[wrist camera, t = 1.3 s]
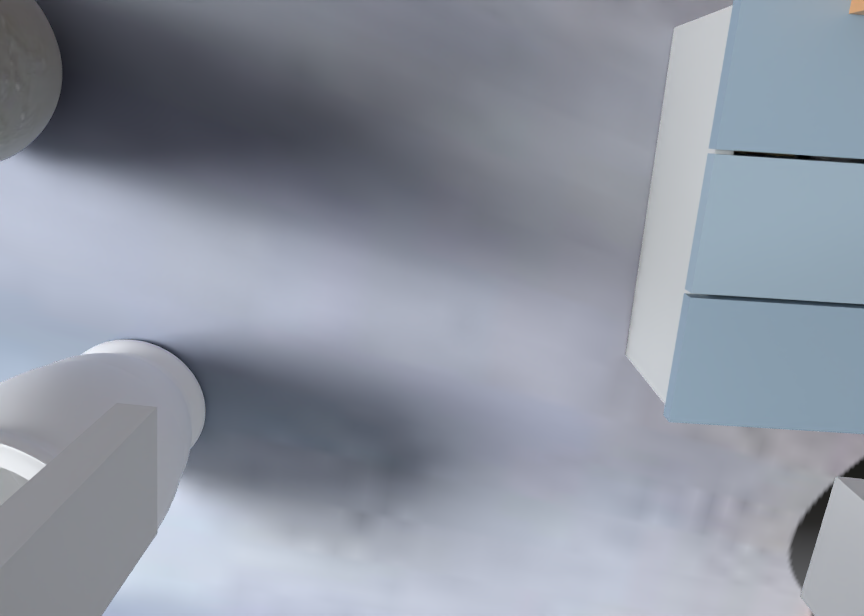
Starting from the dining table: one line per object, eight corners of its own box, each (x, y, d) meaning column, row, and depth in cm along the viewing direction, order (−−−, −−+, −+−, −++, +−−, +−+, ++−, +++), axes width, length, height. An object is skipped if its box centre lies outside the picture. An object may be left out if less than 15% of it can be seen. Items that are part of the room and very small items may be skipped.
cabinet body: (674, 27, 35) (740, 2, 27) (903, 43, 35) (1033, 22, 28) (625, 354, 40) (670, 411, 32) (827, 367, 40) (920, 426, 32)
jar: (231, 336, 40) (115, 460, 25) (217, 490, 43) (105, 681, 28) (50, 307, 39) (-174, 416, 25) (47, 465, 42) (-155, 645, 28)
